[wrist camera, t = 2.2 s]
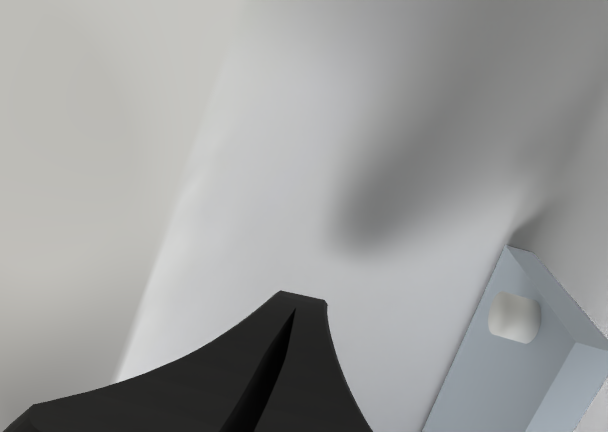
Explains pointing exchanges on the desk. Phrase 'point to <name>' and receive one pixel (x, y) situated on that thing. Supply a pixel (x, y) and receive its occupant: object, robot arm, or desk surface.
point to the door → (522, 357)
